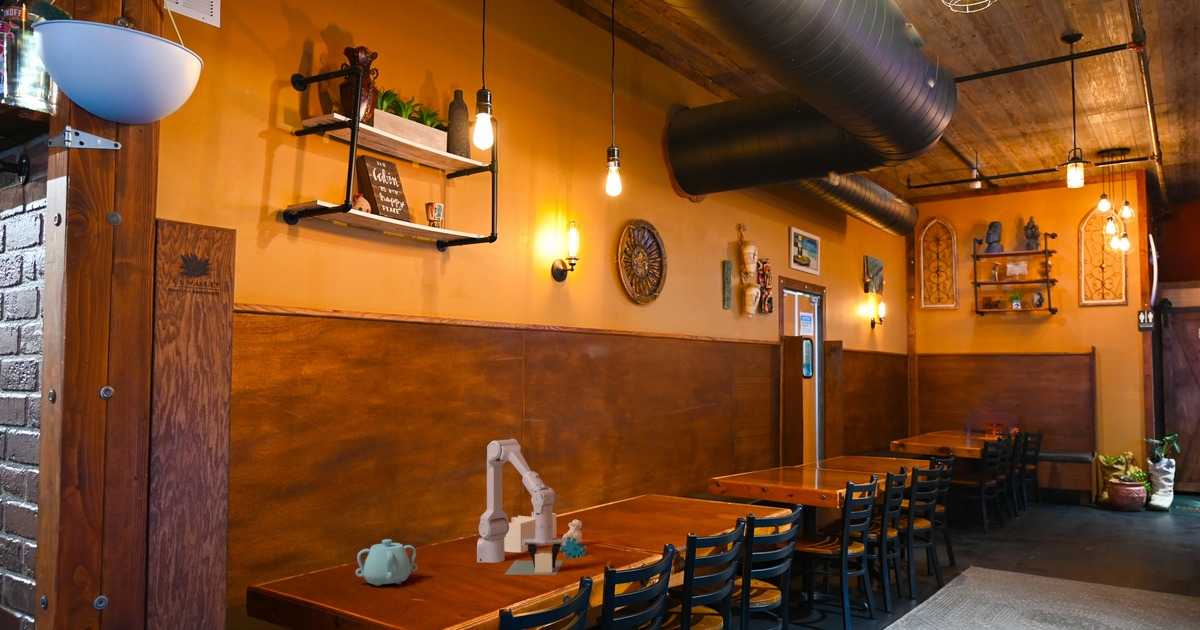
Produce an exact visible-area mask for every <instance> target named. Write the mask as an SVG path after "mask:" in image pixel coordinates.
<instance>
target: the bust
mask: <svg viewBox="0 0 1200 630" xmlns="http://www.w3.org/2000/svg"><path fill="white" fill-rule="evenodd" d="M567 525H568V527H569V530H568V531H567V532H566V533H564V534H563V535H562V539H563V538H566V542H568V541H567V537H571V539H570V541H571V542H572V540H573V538H575V539H577V540H576V542H574V543H578V542H579V541H580V542H581V543H582V542H583V541H582V540H583V537H582V536H583V533H582V531H581V530H580V529H581V528H582V525H583V524H582V521H581V520H579V519H576V518H575V519H573V520H572V522H569V523H568V524H567ZM578 546H579V545H578ZM561 547H563V546H561Z"/></svg>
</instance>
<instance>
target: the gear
mask: <svg viewBox="0 0 1200 630" xmlns="http://www.w3.org/2000/svg"><path fill="white" fill-rule="evenodd" d="M562 538H563V537H562ZM563 539H566V538H563ZM570 539H571V537H567V541H568V542H566V545H565V546H563V545H561V547H560V549H559V551H561V552H563V551H564V552H563V556H564V557H567V556H568V559H571V560H572V559H574V558H575V559H578V557H579V558H580V557H581V558H583V556H585V555H586V549H587V548H588V547H587V545H584V546H582V544H583V543H582V541H581V542H580V541H579V542H578V543H574V542H576V540H577V539H575V538H573V540H572V542H571V541H570ZM578 545H579V546H578ZM562 546H563V547H562Z"/></svg>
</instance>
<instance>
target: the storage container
mask: <svg viewBox="0 0 1200 630" xmlns="http://www.w3.org/2000/svg"><path fill="white" fill-rule="evenodd" d="M552 521H553V538H557V513H556V512H552ZM530 538H536V535H535V512H534V511H531V516H525V515H524V516H523V515H517V517H516V516H513V517H511V522H509V531H508V533H507V534H506V537H504V549H505V552H508V553H526V552H529V551H528V545H525V546H522V540H523V539H530ZM542 546H544V545H537V547H542Z"/></svg>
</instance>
